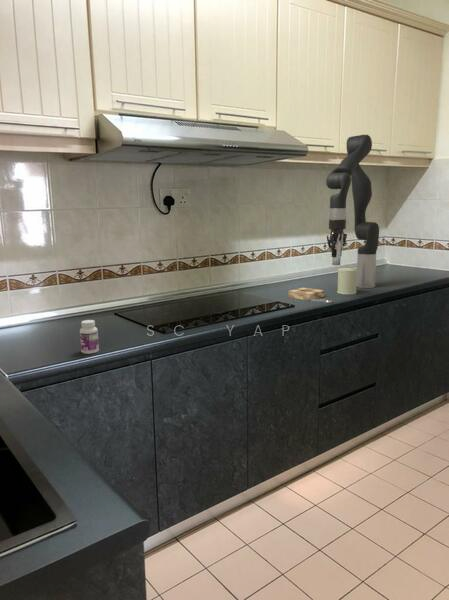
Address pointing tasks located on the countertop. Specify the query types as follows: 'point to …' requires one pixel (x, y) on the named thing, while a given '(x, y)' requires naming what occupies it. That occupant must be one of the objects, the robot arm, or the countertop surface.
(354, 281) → the can
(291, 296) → the socket block
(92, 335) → the pill bottle
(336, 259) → the pin
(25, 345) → the countertop surface
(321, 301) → the bar
